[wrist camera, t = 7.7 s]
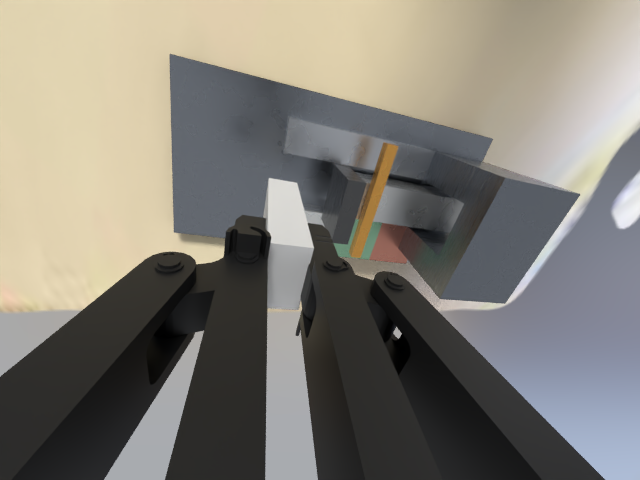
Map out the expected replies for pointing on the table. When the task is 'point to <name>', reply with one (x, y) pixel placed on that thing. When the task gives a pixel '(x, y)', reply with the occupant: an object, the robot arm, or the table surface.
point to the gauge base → (361, 156)
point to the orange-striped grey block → (382, 203)
